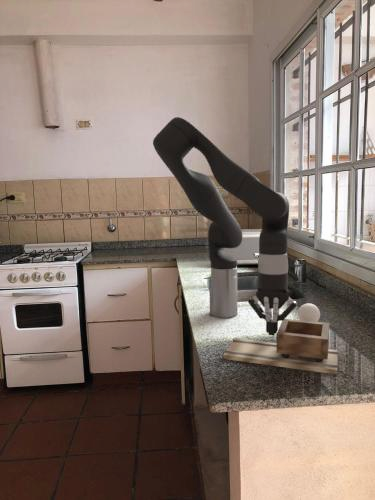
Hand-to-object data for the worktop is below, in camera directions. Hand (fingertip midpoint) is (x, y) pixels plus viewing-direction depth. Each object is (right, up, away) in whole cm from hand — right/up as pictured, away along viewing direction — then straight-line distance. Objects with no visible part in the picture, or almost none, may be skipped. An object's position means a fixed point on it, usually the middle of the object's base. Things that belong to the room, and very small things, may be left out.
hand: (271, 334), depth 102 cm
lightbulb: (+13, -4, +11) cm, 18 cm away
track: (+2, -6, 0) cm, 6 cm away
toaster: (+10, +13, +125) cm, 126 cm away
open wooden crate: (+8, -4, -2) cm, 9 cm away
